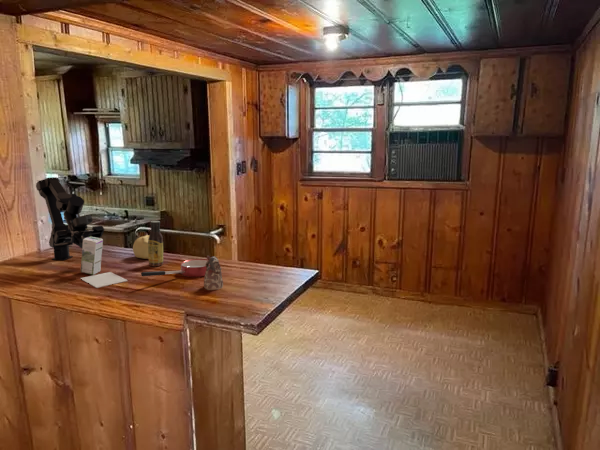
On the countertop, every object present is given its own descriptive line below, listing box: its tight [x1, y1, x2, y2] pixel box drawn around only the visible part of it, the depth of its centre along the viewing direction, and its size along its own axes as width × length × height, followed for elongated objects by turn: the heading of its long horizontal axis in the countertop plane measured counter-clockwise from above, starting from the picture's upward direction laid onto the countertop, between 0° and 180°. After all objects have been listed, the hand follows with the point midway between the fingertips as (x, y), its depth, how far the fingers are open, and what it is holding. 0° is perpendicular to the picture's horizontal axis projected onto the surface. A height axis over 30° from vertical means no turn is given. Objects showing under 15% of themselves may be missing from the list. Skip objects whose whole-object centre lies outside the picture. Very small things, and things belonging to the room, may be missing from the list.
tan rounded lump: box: [132, 234, 150, 260], centre depth 204 cm, size 11×12×11 cm
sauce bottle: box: [148, 220, 164, 267], centre depth 191 cm, size 7×6×20 cm
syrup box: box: [80, 236, 104, 276], centre depth 178 cm, size 6×6×14 cm
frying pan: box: [140, 258, 210, 278], centre depth 173 cm, size 32×13×6 cm, turn 148°
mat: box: [80, 271, 129, 289], centre depth 171 cm, size 16×12×1 cm
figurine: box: [203, 255, 224, 291], centre depth 163 cm, size 7×7×12 cm
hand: (86, 250), depth 179 cm, fingers closed
